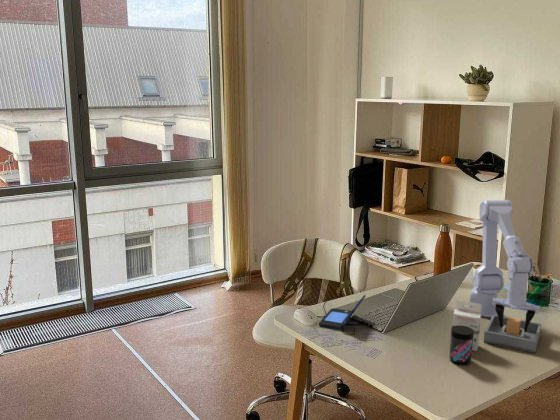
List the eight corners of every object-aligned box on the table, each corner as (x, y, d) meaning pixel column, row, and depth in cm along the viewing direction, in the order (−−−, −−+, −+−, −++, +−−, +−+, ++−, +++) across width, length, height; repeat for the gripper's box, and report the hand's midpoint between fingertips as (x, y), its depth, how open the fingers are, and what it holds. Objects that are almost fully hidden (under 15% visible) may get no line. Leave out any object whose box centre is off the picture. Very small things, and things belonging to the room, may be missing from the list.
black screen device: (331, 311, 216) (332, 288, 214) (365, 317, 211) (366, 293, 209) (317, 327, 202) (318, 302, 200) (353, 333, 197) (354, 308, 195)
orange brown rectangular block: (505, 336, 192) (507, 320, 190) (507, 332, 195) (508, 316, 194) (518, 339, 190) (519, 322, 188) (519, 335, 193) (521, 318, 192)
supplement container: (444, 360, 177) (447, 330, 175) (454, 353, 182) (457, 323, 179) (465, 368, 172) (468, 336, 170) (474, 360, 177) (477, 329, 175)
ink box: (449, 346, 186) (453, 304, 183) (452, 340, 191) (455, 299, 187) (477, 351, 183) (480, 309, 180) (478, 345, 187) (482, 303, 184)
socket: (500, 337, 191) (500, 332, 190) (503, 330, 197) (503, 324, 196) (522, 342, 188) (522, 337, 187) (524, 334, 193) (525, 329, 193)
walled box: (483, 342, 189) (484, 331, 189) (491, 325, 203) (492, 314, 202) (535, 353, 182) (536, 342, 181) (540, 334, 195) (541, 323, 194)
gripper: (492, 290, 189) (488, 328, 192) (539, 298, 182) (535, 337, 185) (495, 284, 195) (492, 320, 198) (541, 291, 188) (537, 329, 191)
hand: (513, 328), depth 192 cm, fingers open, 7 cm apart
